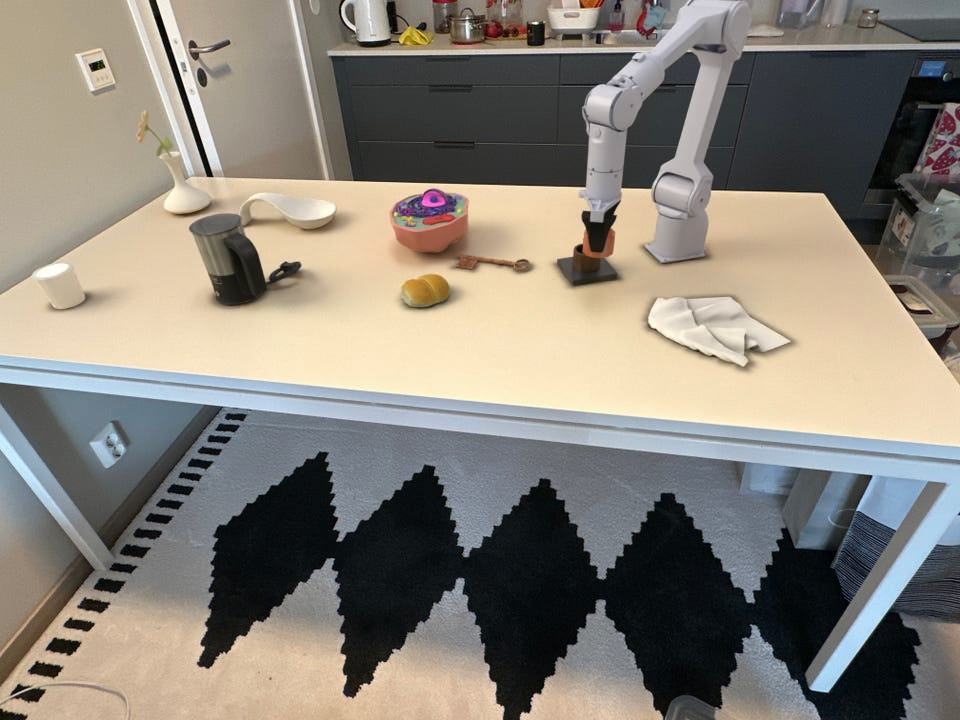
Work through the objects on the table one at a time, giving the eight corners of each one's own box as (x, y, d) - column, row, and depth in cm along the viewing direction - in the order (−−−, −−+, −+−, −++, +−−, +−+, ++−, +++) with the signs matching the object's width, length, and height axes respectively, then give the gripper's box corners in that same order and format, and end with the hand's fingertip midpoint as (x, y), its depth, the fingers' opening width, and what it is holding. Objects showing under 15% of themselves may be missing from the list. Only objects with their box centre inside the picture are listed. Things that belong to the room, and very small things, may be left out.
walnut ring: (593, 257, 116) (595, 241, 114) (604, 270, 112) (605, 253, 110) (569, 261, 115) (569, 245, 113) (578, 274, 111) (579, 257, 109)
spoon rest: (345, 214, 142) (339, 185, 137) (329, 235, 133) (323, 205, 128) (254, 213, 145) (246, 185, 141) (232, 234, 136) (223, 205, 131)
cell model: (376, 260, 122) (367, 209, 115) (419, 221, 136) (413, 174, 129) (449, 272, 116) (444, 219, 109) (486, 230, 131) (484, 181, 124)
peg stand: (598, 257, 118) (601, 225, 114) (617, 278, 111) (620, 245, 107) (556, 264, 117) (558, 232, 113) (572, 286, 110) (574, 252, 106)
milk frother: (204, 301, 112) (176, 230, 103) (256, 263, 123) (235, 196, 114) (266, 313, 108) (242, 239, 98) (313, 272, 119) (295, 203, 110)
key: (453, 268, 118) (523, 278, 113) (452, 264, 118) (523, 274, 113) (464, 253, 122) (532, 262, 117) (463, 249, 122) (532, 258, 117)
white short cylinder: (48, 314, 111) (29, 282, 107) (50, 298, 116) (32, 267, 111) (88, 304, 113) (71, 272, 109) (89, 288, 118) (72, 258, 114)
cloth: (641, 296, 106) (643, 284, 104) (767, 298, 103) (771, 286, 102) (655, 365, 90) (657, 352, 88) (805, 369, 87) (809, 357, 86)
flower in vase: (181, 199, 155) (144, 100, 139) (221, 200, 153) (187, 99, 138) (153, 220, 144) (109, 115, 129) (195, 221, 143) (156, 114, 128)
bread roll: (457, 297, 109) (456, 279, 106) (415, 313, 105) (413, 294, 102) (436, 280, 114) (434, 262, 112) (395, 294, 110) (392, 276, 108)
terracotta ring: (606, 242, 105) (607, 224, 103) (618, 255, 101) (620, 236, 99) (578, 246, 104) (580, 228, 102) (589, 260, 100) (591, 240, 98)
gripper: (586, 150, 100) (582, 224, 108) (573, 181, 89) (569, 260, 97) (628, 152, 98) (620, 227, 107) (619, 184, 87) (611, 264, 96)
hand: (598, 243), depth 102 cm, fingers closed on terracotta ring, 5 cm apart
